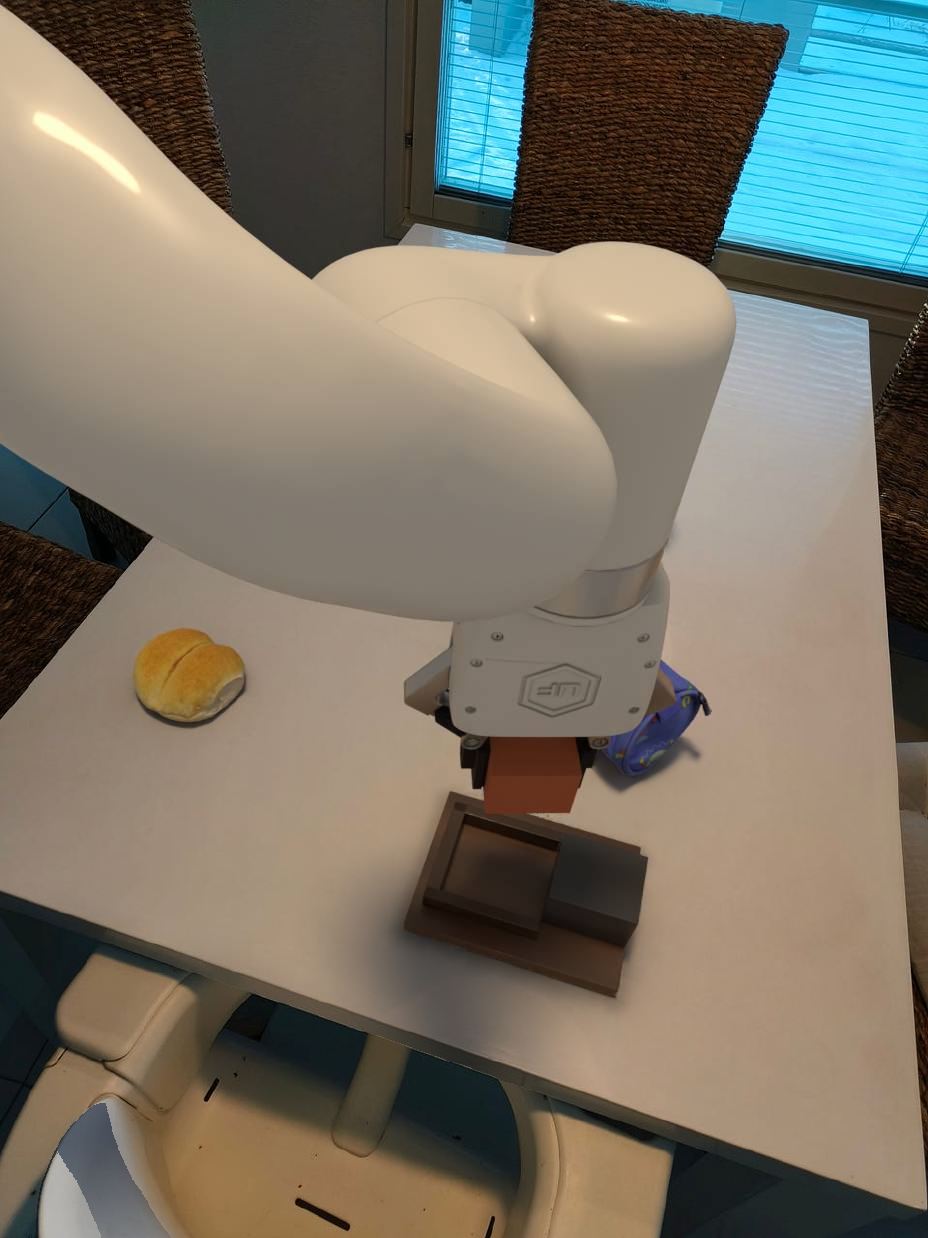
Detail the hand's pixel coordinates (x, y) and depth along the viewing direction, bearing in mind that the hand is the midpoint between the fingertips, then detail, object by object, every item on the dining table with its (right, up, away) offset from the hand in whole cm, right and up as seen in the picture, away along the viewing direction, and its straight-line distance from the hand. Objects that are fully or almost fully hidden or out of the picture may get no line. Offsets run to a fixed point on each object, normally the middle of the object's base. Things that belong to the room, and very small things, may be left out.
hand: (523, 766), depth 51 cm
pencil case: (+6, +3, +24) cm, 25 cm away
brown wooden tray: (+1, -11, +11) cm, 15 cm away
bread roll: (-27, +3, +21) cm, 34 cm away
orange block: (0, 0, 0) cm, 0 cm away
